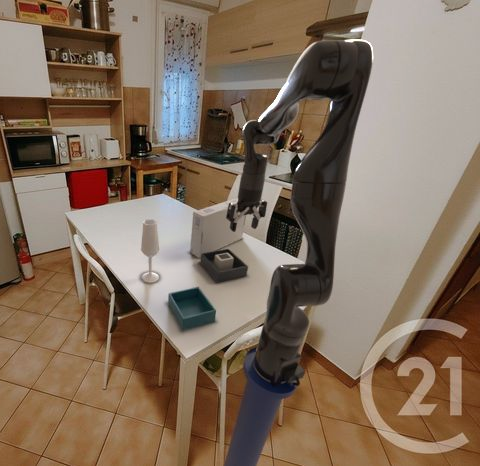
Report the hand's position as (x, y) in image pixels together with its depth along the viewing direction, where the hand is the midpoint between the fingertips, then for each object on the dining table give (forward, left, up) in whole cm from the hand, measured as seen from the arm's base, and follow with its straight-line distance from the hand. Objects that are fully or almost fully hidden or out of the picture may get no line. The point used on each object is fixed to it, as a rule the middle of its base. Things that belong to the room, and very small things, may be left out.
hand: (243, 229), depth 94 cm
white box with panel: (+6, +2, -20) cm, 21 cm away
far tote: (+6, +2, -21) cm, 22 cm away
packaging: (+24, -6, -21) cm, 33 cm away
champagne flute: (+10, +32, -21) cm, 40 cm away
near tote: (-12, +25, -21) cm, 35 cm away
